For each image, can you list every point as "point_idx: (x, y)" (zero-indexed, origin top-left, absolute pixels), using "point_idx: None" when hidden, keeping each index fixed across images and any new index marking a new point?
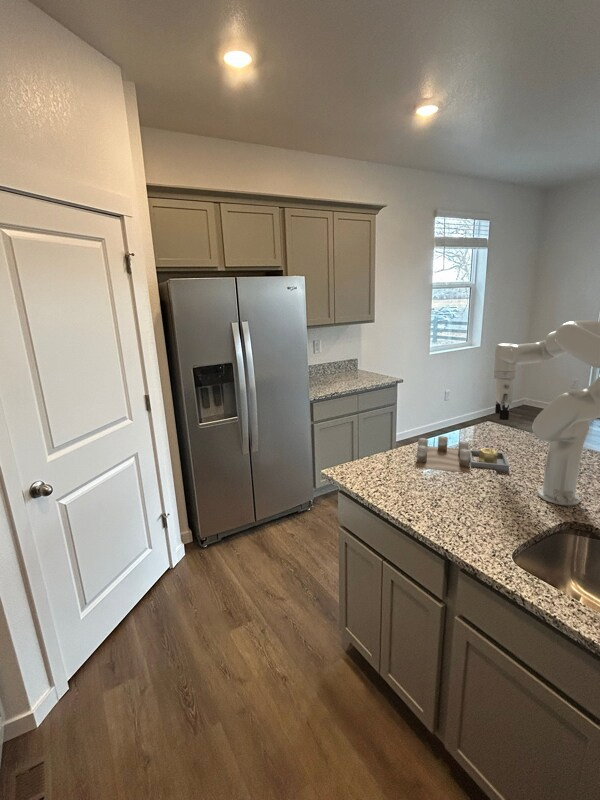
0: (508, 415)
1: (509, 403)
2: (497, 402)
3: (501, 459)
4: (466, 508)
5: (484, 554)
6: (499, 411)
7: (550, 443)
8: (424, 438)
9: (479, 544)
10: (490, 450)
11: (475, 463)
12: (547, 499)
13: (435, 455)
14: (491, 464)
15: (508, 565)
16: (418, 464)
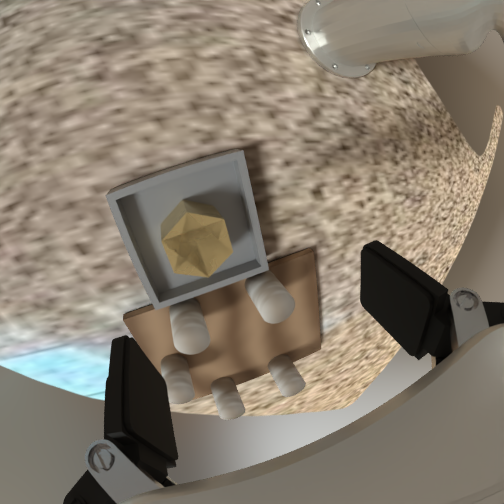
0: (404, 260)
1: (424, 381)
2: (172, 481)
3: (139, 191)
4: (426, 214)
5: (478, 179)
6: (152, 378)
7: (473, 46)
8: (220, 415)
9: (471, 185)
10: (190, 241)
11: (264, 256)
12: (374, 65)
13: (229, 359)
14: (255, 209)
15: (483, 156)
16: (303, 356)
